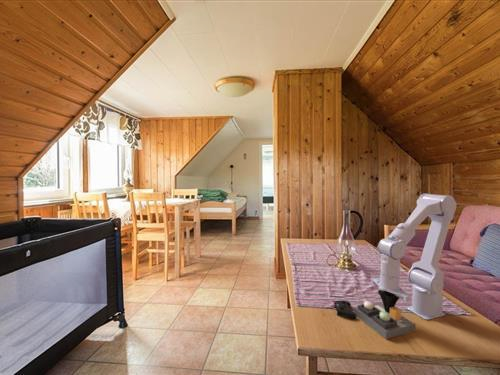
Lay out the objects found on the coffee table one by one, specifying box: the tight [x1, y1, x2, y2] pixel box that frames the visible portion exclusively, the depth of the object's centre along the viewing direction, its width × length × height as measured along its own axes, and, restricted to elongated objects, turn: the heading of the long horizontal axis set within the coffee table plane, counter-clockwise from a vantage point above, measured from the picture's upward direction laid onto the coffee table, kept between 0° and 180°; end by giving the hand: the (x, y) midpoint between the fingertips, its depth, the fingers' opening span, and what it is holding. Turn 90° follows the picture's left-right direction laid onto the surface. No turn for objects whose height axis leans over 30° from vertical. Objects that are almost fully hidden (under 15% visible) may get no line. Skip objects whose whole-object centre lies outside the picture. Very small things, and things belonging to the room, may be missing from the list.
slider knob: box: [389, 305, 402, 320], centre depth 84 cm, size 2×2×3 cm
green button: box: [380, 312, 390, 322], centre depth 81 cm, size 3×3×2 cm
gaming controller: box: [333, 299, 357, 320], centre depth 92 cm, size 10×5×6 cm
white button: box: [363, 300, 374, 311], centre depth 88 cm, size 3×3×2 cm
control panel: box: [354, 301, 416, 340], centre depth 86 cm, size 12×14×4 cm
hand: (388, 311), depth 86 cm, fingers closed
